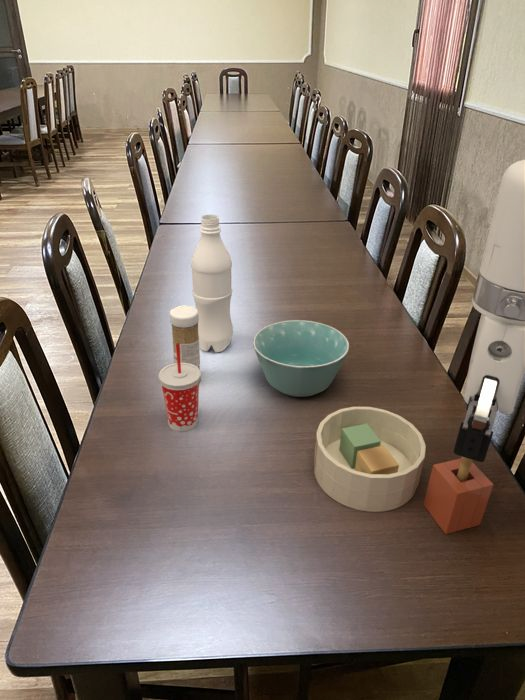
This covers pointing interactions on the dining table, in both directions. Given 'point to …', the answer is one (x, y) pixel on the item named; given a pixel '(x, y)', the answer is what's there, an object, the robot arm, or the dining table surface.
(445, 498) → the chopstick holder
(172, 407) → the beverage cup
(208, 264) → the water bottle
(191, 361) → the sprinkles bottle
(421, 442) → the stir bowl
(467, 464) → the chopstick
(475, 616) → the dining table surface
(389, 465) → the maple block
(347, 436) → the sage block
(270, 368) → the bowl
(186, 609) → the dining table surface
